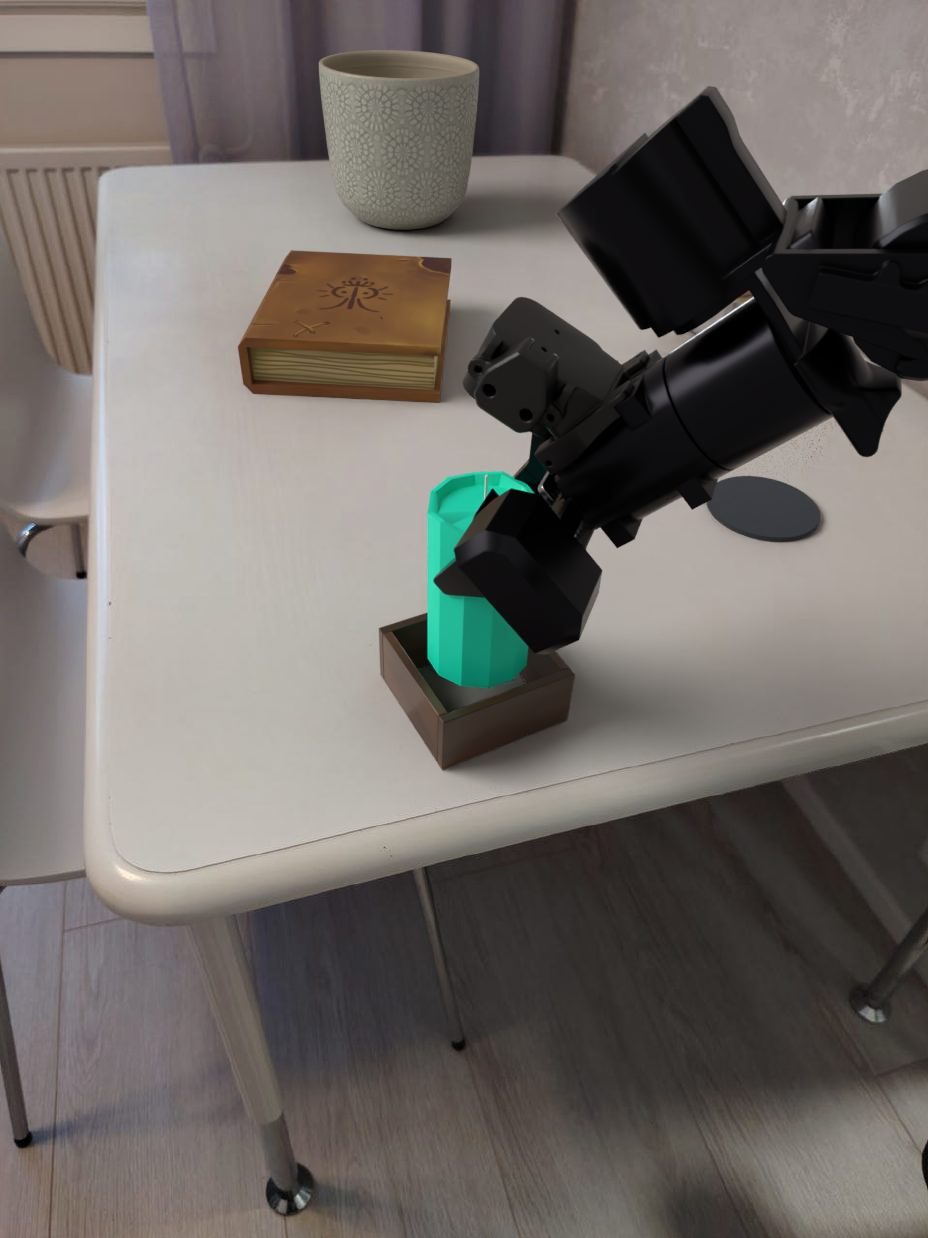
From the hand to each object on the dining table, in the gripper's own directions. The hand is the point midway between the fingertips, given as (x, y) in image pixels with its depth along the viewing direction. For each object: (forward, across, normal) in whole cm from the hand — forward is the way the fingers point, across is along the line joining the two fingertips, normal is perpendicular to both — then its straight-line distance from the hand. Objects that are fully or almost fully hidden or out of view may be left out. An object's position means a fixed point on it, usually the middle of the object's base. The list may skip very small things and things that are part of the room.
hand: (458, 557), depth 47 cm
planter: (+36, -85, -22) cm, 95 cm away
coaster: (-4, -29, +19) cm, 35 cm away
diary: (+27, -43, -12) cm, 52 cm away
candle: (+4, 0, +6) cm, 7 cm away
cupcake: (+3, -64, +12) cm, 66 cm away
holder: (+7, 0, +8) cm, 11 cm away
